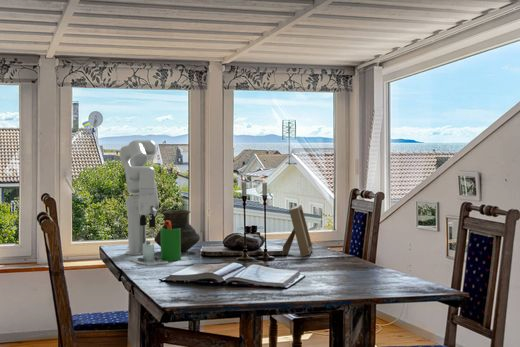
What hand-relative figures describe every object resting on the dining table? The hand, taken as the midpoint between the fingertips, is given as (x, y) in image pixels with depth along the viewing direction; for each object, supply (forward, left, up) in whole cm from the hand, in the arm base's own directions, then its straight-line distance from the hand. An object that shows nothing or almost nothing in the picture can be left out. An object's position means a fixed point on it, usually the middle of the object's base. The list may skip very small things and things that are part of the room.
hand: (147, 226), depth 338 cm
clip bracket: (0, 0, -18) cm, 18 cm away
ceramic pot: (-21, +28, -18) cm, 39 cm away
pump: (+1, 0, -17) cm, 17 cm away
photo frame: (+27, +73, -18) cm, 80 cm away
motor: (0, +12, -18) cm, 22 cm away
